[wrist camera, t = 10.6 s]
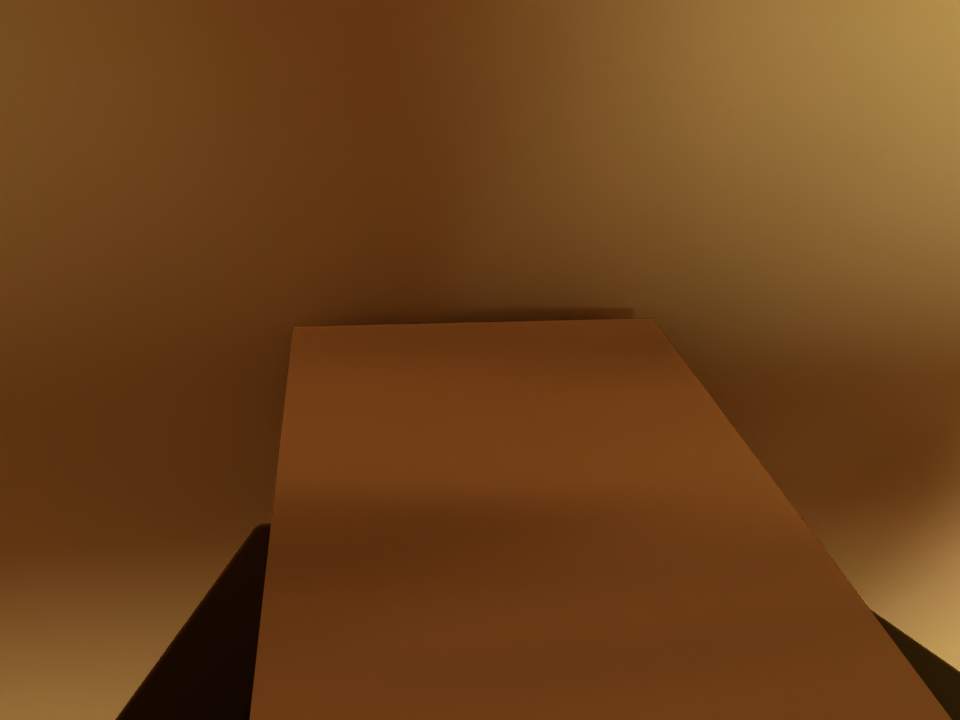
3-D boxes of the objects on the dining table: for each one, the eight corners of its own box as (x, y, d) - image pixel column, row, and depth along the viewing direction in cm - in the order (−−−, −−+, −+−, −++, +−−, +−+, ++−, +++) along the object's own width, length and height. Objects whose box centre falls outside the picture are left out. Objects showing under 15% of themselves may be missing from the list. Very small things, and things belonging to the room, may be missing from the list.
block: (603, 570, 11) (839, 1171, 6) (313, 593, 10) (286, 1294, 5) (653, 317, 9) (1089, 904, 4) (292, 326, 8) (212, 1051, 3)
